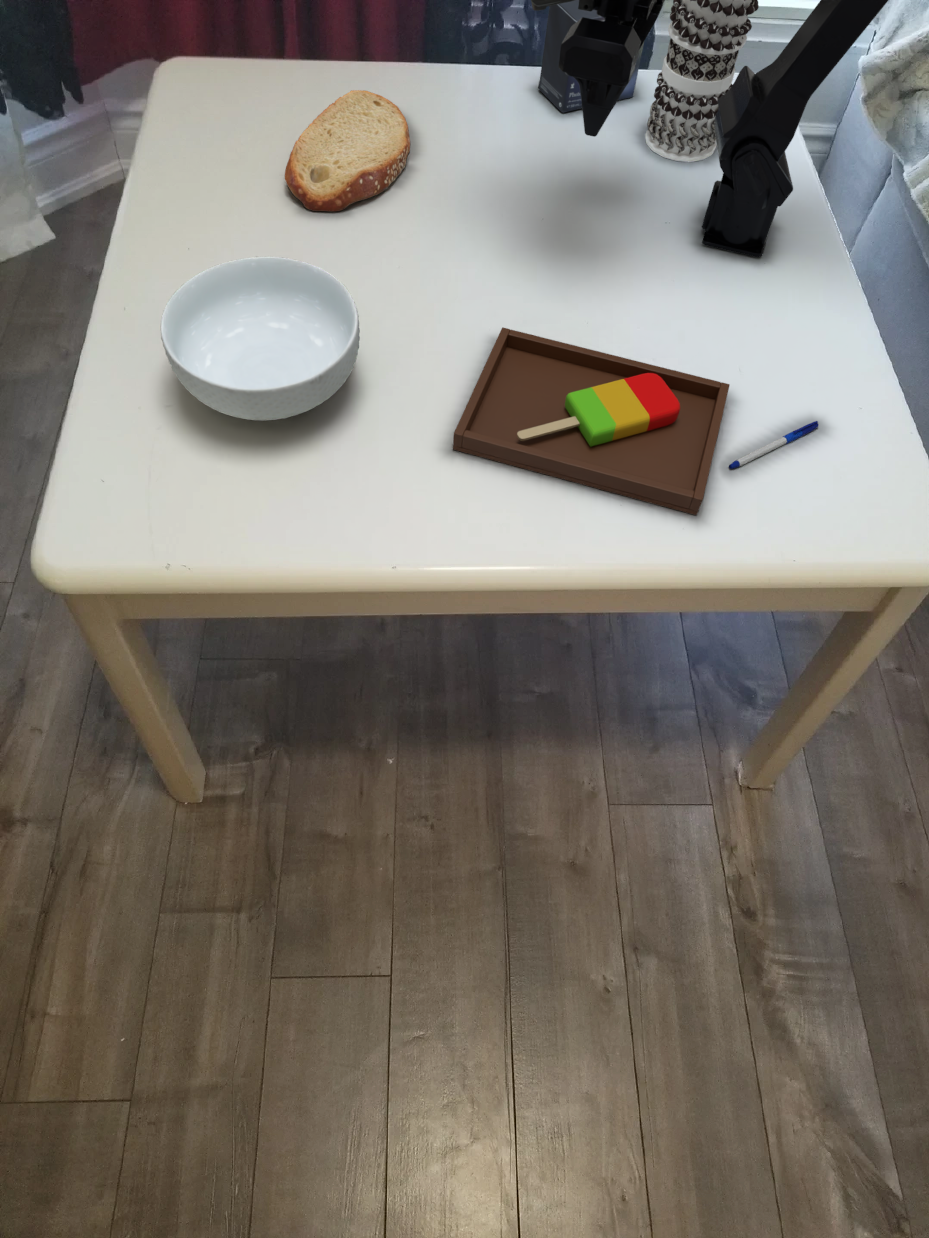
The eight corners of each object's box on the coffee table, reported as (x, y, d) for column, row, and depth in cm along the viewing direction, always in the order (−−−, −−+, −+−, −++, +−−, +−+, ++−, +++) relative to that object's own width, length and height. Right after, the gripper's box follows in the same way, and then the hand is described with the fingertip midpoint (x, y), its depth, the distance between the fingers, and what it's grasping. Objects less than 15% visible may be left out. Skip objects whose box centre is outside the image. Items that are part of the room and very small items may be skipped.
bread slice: (379, 101, 110) (378, 68, 107) (456, 177, 102) (457, 145, 99) (240, 137, 104) (235, 104, 101) (310, 222, 96) (306, 189, 93)
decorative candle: (685, 113, 112) (748, -141, 91) (735, 151, 108) (813, -105, 87) (626, 132, 109) (676, -126, 88) (674, 171, 105) (740, -89, 84)
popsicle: (681, 423, 82) (687, 408, 80) (530, 466, 78) (532, 451, 77) (652, 383, 85) (657, 367, 83) (504, 422, 81) (506, 406, 79)
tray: (723, 400, 84) (729, 384, 83) (696, 515, 77) (702, 500, 75) (500, 344, 87) (502, 327, 86) (452, 449, 80) (453, 433, 78)
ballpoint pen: (811, 423, 84) (815, 415, 83) (818, 429, 83) (822, 421, 82) (726, 467, 80) (730, 460, 79) (733, 474, 80) (737, 467, 79)
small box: (562, 116, 110) (575, 21, 101) (536, 90, 113) (546, -5, 104) (636, 98, 113) (654, 4, 104) (607, 73, 116) (623, -20, 107)
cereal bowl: (159, 341, 85) (140, 276, 79) (330, 304, 89) (324, 239, 83) (201, 469, 77) (183, 407, 71) (388, 422, 81) (386, 360, 75)
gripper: (568, -137, 81) (546, 50, 94) (509, -53, 71) (494, 142, 84) (691, -115, 80) (652, 72, 93) (648, -26, 70) (611, 169, 83)
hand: (601, 111), depth 88 cm, fingers open, 9 cm apart
